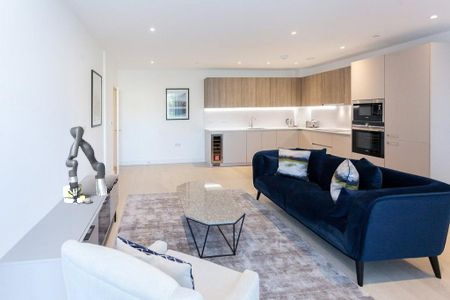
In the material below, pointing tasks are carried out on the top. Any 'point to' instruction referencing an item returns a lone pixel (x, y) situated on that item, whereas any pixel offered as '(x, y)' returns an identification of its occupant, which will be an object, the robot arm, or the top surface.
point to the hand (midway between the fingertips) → (75, 199)
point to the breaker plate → (79, 202)
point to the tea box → (69, 197)
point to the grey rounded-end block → (87, 200)
